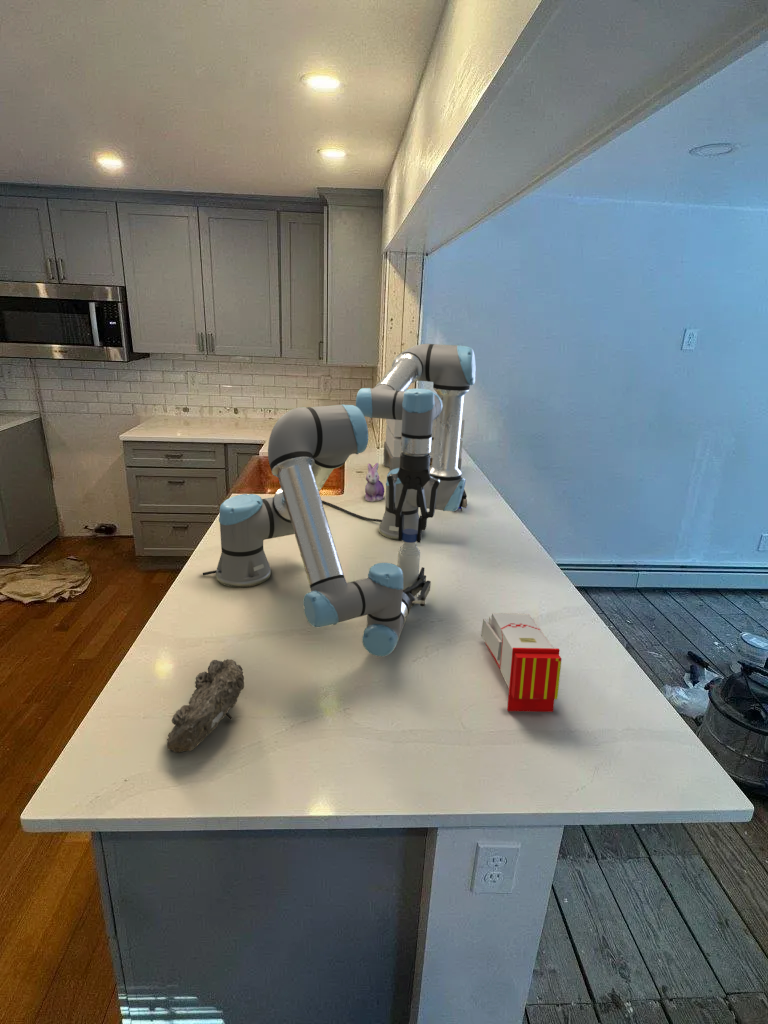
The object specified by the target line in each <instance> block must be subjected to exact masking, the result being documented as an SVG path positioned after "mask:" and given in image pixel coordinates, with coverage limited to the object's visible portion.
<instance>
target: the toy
mask: <svg viewBox="0 0 768 1024" xmlns="http://www.w3.org/2000/svg"><path fill="white" fill-rule="evenodd" d="M480 637H481V639H482V640H483V641H484V644H485V646H486V647H487V649H488V651H489V653H490V654H491V656H492V658H493V661H494V662H495V664H496V666H497V667H498V669H499V670H500V673H501V675H502V677H503V680H504V681H505V683H506V686H507V687H508V697H507V698H508V699H507V712H528V713H529V712H533V713H534V712H536V713H553V712H554V707H555V700H558V696H559V687H560V679H561V678H560V676H561V667H562V657H561V655H560V651H561V650H560V648H555V647H554V646H553V644H551V642H550V641H549V639H548V638H547V636H546V635H545V634H544V632H543V631H542V630H541V628H540V627H539V625H538V624H537V622H536V621H535V619H534V618H533V617H532V616H531V614H530V613H513V612H510V613H509V612H491V615H488V620H487V619H486V618H482V624H481V633H480Z"/></svg>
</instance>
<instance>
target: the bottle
mask: <svg viewBox="0 0 768 1024" xmlns="http://www.w3.org/2000/svg"><path fill="white" fill-rule="evenodd" d="M396 561H397V563H396V565H397V566H398V567H399V568H401V570H402V572H403V587H404V588H403V590H405V589H406V588H407V587H411V586H412V585H413V584H415V583H416V582H417V581H418V576H419V573H420V563H421V550H420V549H419V547H418V546H417V542H414V543H408V542H404V541H403V543H402V545H401V546H400V547H399V548H398V550H397V560H396ZM417 597H418V593H417V594H416V595H415V596H414V598H417Z"/></svg>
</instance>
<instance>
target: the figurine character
mask: <svg viewBox="0 0 768 1024" xmlns="http://www.w3.org/2000/svg"><path fill="white" fill-rule="evenodd" d="M467 495H468V494H467V493H466V490H465V489H464V491H463V495H462V499H461V502H460V505H459V507H458V509H459V510H460V512H463V509H464V508H465V509H466V508H467V506H468V499H467V497H468V496H467ZM458 509H457V510H458Z"/></svg>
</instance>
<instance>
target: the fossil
mask: <svg viewBox="0 0 768 1024" xmlns="http://www.w3.org/2000/svg"><path fill="white" fill-rule="evenodd" d="M243 670H244V669H243V667H242V665H240V664H237V662H236V661H235V660H234V659H232V658H231V659H227V658H226V659H224V660H223V661H222V660H217V659H212V660H211V661H210V663H209V665H208V666H207V671H201V672H199V673H198V674H197V675H196V676H195V680H194V684H195V685H194V687H195V689H194V690H193V693H192V694H191V697H190V698H189V700H188V704H184V705H182V706H181V707H180V709H177V710H176V711H175V713H174V715H173V716H172V718H171V723H172V724H173V727H172V730H171V731H170V732H168V734H167V738H166V741H167V742H166V745H167V749H168V750H169V751H173V752H174V753H176V754H178V753H182V752H188V751H189V752H192V751H193V750H195V748H196V747H197V746H199V744H200V743H201V742H203V741H204V740H205V739H206V738H207V737H208V736H209V735H210V734H211V733H212V732H214V730H215V729H217V727H218V726H219V724H220V722H221V721H222V720H223V719H224V718H225V716H226V717H227V719H229V720H233V717H232V715H230V714H229V710H230V709H231V708H234V706H235V704H236V703H237V702H238V699H239V697H240V695H241V693H242V691H243V690H245V689H244V688H245V675H244V671H243Z"/></svg>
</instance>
